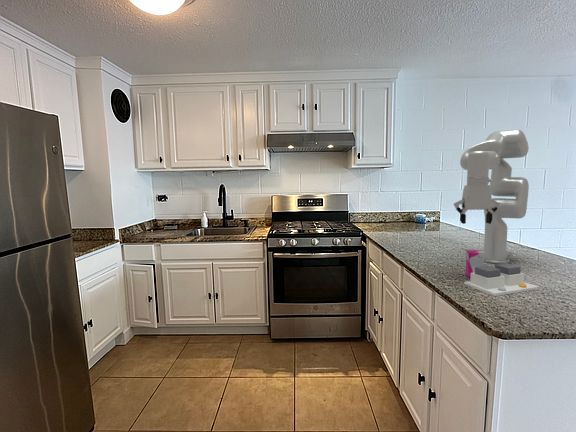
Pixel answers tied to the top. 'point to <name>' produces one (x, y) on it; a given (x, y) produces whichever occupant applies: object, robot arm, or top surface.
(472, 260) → the supplement box
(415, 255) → the top surface
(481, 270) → the plain breaker
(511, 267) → the block
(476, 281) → the breaker panel
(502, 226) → the robot arm
